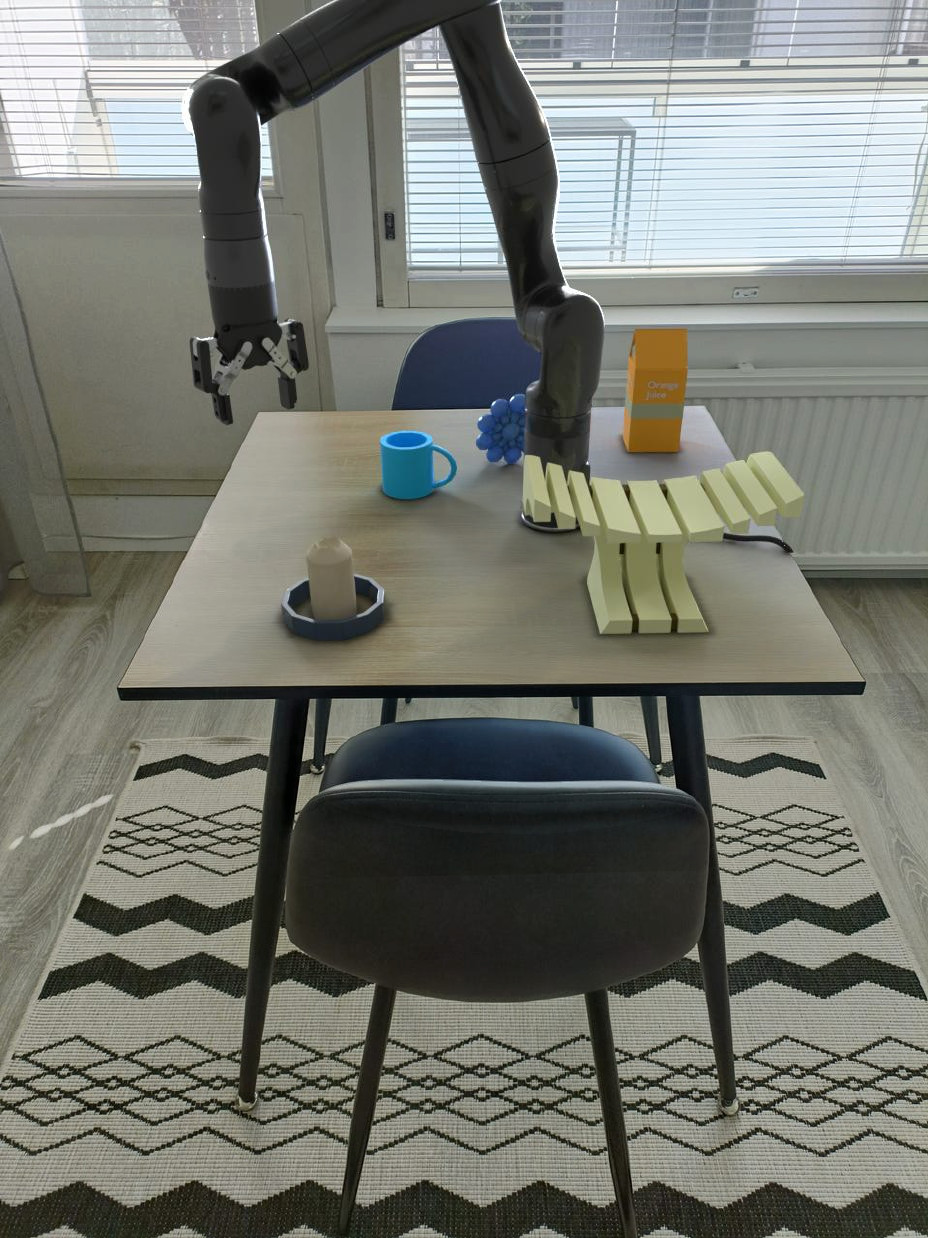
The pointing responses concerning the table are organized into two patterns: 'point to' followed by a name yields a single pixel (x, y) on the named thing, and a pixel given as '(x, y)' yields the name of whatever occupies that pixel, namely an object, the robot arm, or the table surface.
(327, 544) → the candle
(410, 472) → the mug
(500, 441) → the blue ball flower
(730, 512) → the slatted curved stool
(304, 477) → the table surface
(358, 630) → the ring
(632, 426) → the orange juice
